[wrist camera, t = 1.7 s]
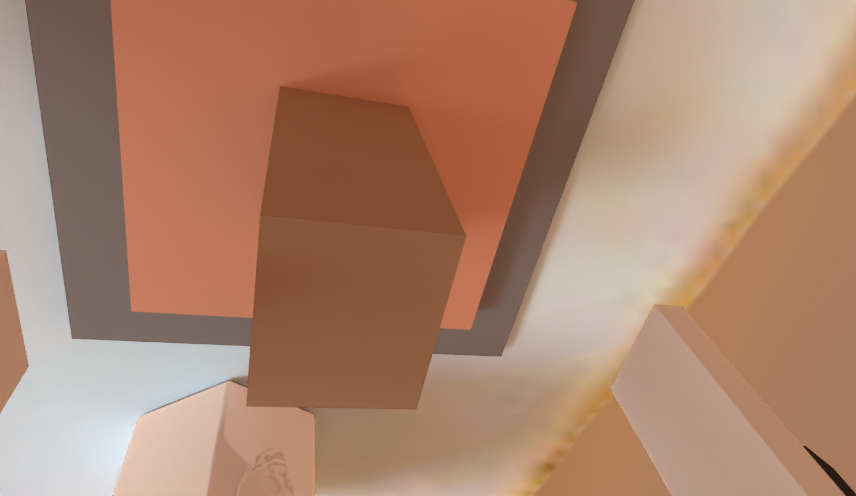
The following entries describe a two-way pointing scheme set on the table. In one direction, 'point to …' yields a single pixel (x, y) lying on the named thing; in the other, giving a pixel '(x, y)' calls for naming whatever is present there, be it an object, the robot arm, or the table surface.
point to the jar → (220, 449)
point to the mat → (113, 319)
